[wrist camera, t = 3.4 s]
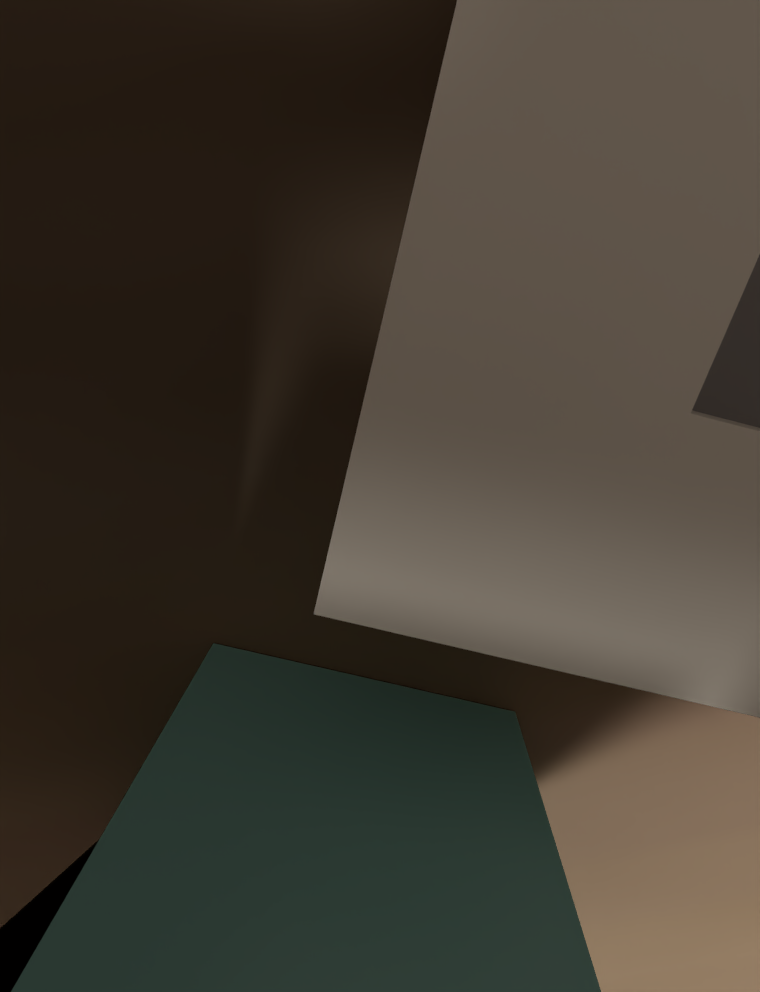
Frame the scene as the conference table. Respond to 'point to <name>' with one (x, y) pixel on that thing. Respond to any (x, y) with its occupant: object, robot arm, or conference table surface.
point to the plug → (321, 849)
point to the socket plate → (574, 356)
